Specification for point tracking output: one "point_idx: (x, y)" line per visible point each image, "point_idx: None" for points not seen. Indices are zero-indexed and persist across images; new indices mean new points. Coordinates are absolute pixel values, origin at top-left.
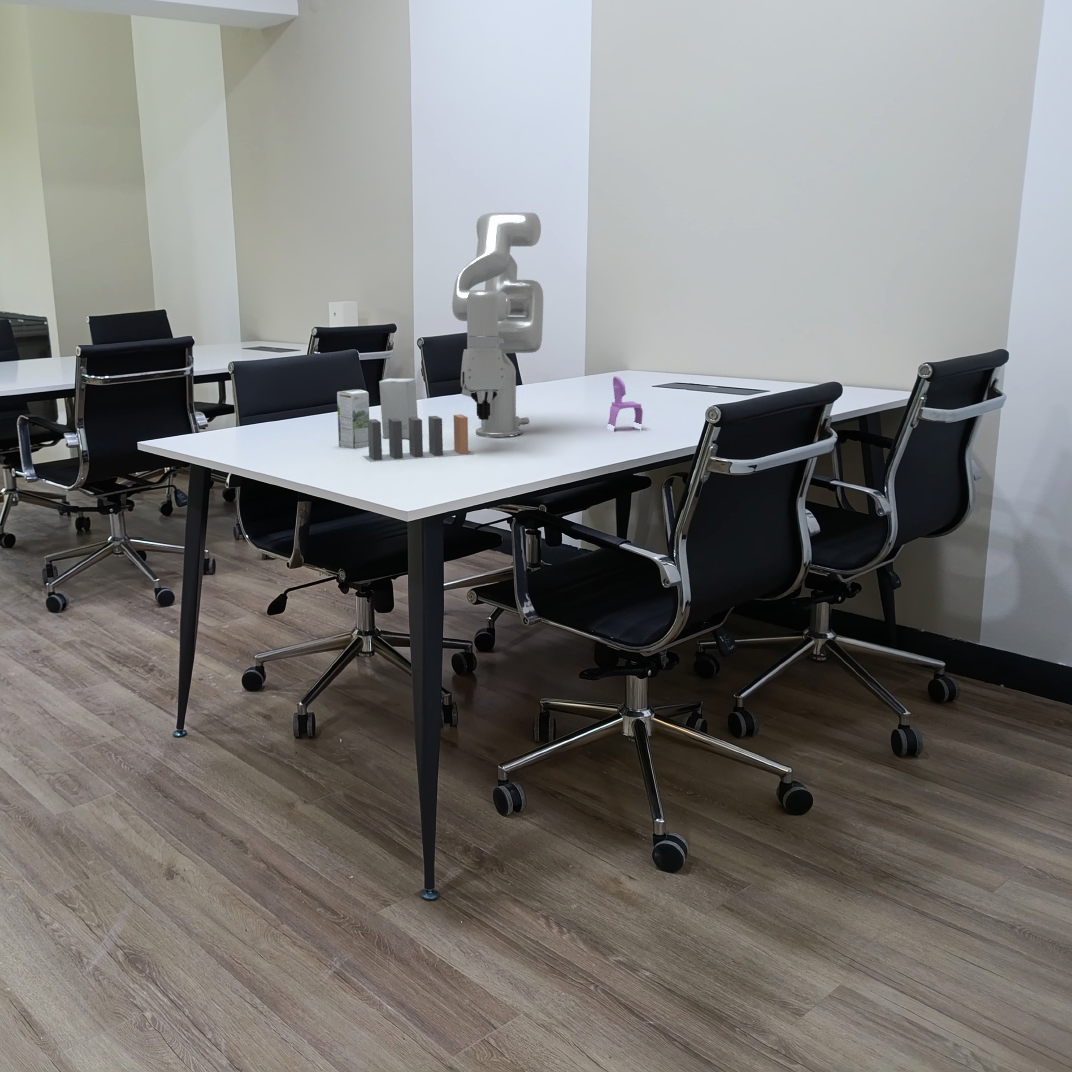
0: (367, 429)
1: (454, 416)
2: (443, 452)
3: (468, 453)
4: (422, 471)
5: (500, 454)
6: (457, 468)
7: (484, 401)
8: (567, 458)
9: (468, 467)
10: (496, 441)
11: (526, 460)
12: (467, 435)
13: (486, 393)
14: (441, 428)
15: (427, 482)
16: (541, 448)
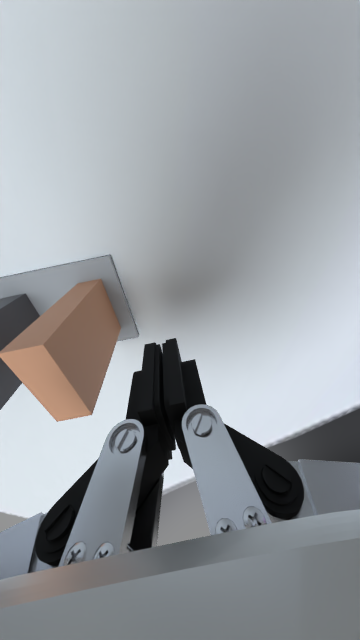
0: None
1: (12, 361)
2: (47, 302)
3: (121, 324)
4: (47, 437)
5: (202, 322)
6: (105, 423)
7: (179, 444)
8: (312, 372)
9: (124, 419)
10: (260, 15)
11: (235, 381)
12: (108, 360)
13: (214, 497)
14: (5, 399)
15: (72, 476)
16: (333, 256)
